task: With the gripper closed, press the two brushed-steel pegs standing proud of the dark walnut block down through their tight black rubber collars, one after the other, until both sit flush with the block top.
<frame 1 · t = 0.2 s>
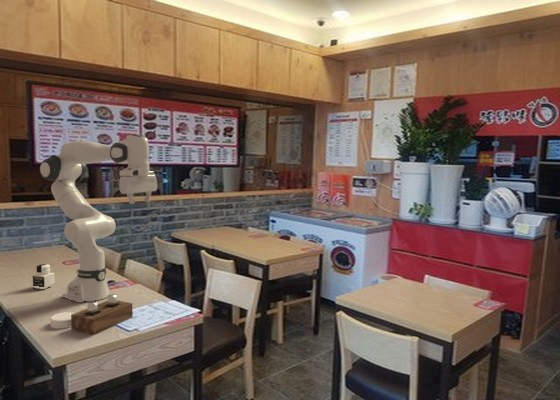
hand: (139, 202, 183), 47 cm above the table, tool pointing down, fingers open, 8 cm apart
coaster: (64, 324, 167), on the table
medicine bottle: (44, 287, 214), on the table
walnut block: (103, 323, 168), on the table
steel peg 1: (92, 309, 163), point 7 cm above the table, slide at 0.0 cm
steel peg 2: (112, 301, 172), point 7 cm above the table, slide at 0.0 cm
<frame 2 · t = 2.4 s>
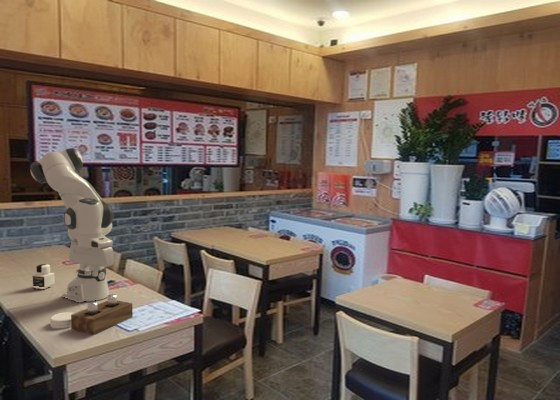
hand: (91, 275, 162), 21 cm above the table, tool pointing down, fingers closed
nothing on the table moved.
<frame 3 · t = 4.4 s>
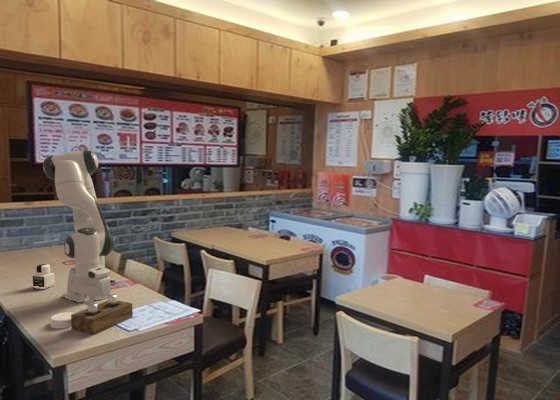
hand: (88, 304, 162), 10 cm above the table, tool pointing down, fingers closed
steel peg 1: (92, 310, 163), point 7 cm above the table, slide at 0.5 cm, touching gripper
everything else where it was.
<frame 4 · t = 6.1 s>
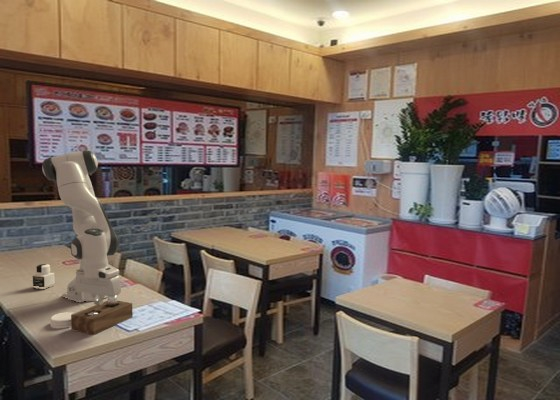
hand: (98, 304, 164), 9 cm above the table, tool pointing down, fingers closed
steel peg 1: (93, 319, 163), point 3 cm above the table, slide at 4.1 cm
everything else where it was.
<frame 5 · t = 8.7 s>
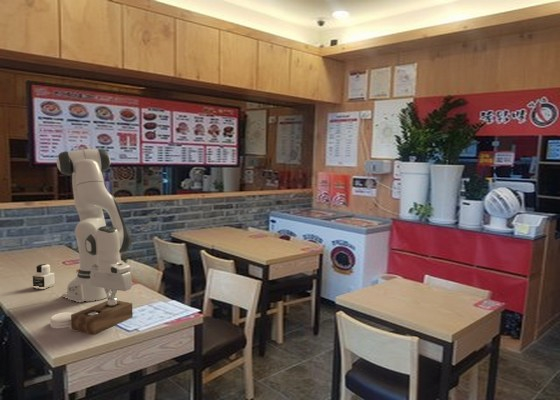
hand: (111, 298, 171), 9 cm above the table, tool pointing down, fingers closed
steel peg 2: (112, 304, 172), point 6 cm above the table, slide at 1.2 cm, touching gripper
everything else where it was.
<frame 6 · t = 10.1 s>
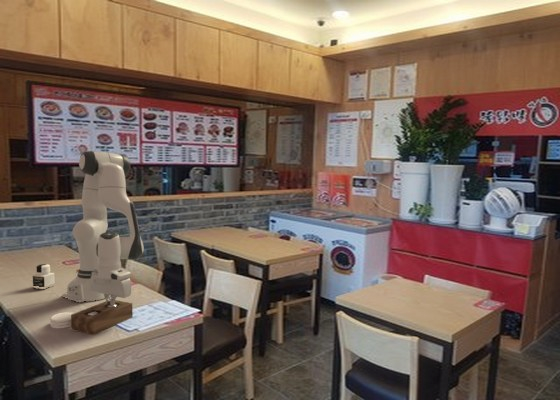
hand: (110, 304, 172), 6 cm above the table, tool pointing down, fingers closed
steel peg 2: (112, 311, 172), point 3 cm above the table, slide at 4.1 cm
everything else where it was.
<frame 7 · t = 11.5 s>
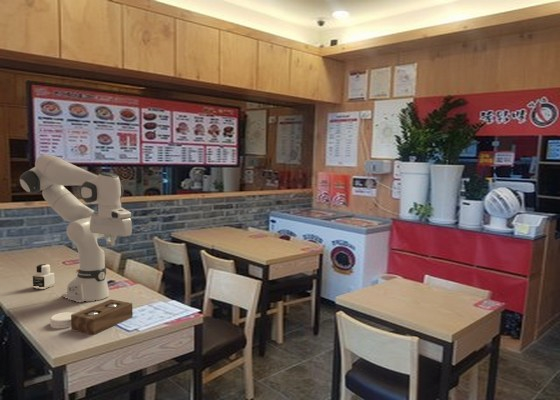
hand: (110, 245, 172), 31 cm above the table, tool pointing down, fingers closed
nothing on the table moved.
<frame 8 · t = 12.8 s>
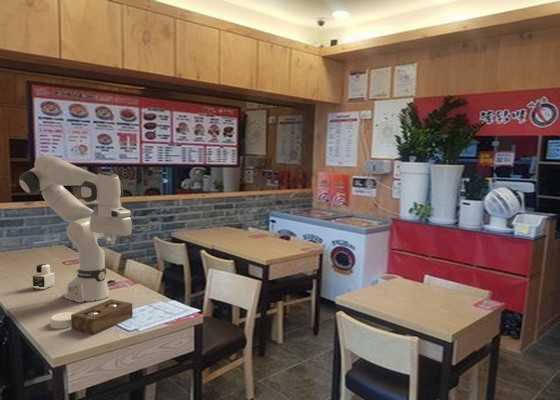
hand: (110, 244, 172), 31 cm above the table, tool pointing down, fingers closed
nothing on the table moved.
at the end: steel peg 1 slide at 4.1 cm; steel peg 2 slide at 4.1 cm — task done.
